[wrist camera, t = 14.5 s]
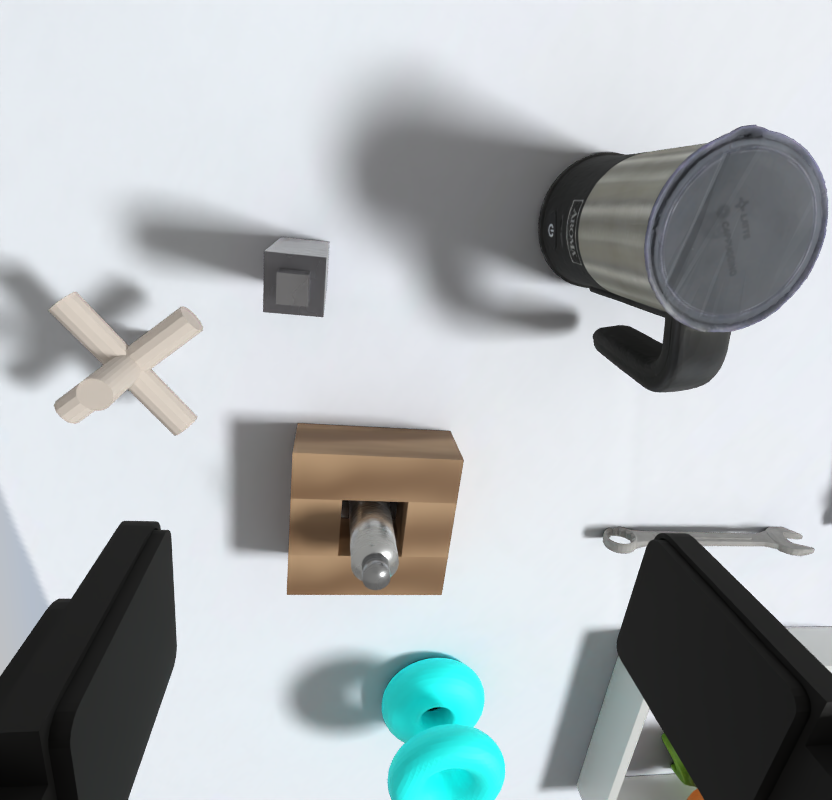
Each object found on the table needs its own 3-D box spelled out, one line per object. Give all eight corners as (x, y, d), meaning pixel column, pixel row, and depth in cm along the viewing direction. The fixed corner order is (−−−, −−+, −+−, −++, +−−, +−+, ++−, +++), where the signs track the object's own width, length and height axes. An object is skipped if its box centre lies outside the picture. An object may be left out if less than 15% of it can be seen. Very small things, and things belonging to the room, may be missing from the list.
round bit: (349, 475, 43) (353, 558, 34) (389, 476, 44) (403, 558, 34) (347, 509, 45) (349, 598, 35) (385, 510, 45) (398, 598, 35)
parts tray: (626, 628, 54) (653, 670, 49) (832, 626, 58) (875, 664, 53) (576, 785, 62) (595, 833, 57) (760, 774, 66) (792, 818, 61)
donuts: (481, 838, 47) (372, 828, 44) (458, 731, 56) (366, 718, 54) (528, 759, 44) (414, 743, 41) (495, 660, 53) (401, 642, 51)
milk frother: (520, 181, 37) (626, 177, 23) (733, 88, 37) (968, 29, 23) (573, 362, 43) (684, 444, 29) (759, 282, 42) (961, 328, 29)
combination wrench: (612, 559, 46) (819, 561, 49) (615, 546, 46) (824, 549, 49) (594, 533, 50) (788, 536, 53) (597, 521, 49) (793, 525, 52)
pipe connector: (152, 435, 40) (96, 509, 31) (43, 329, 36) (-58, 377, 27) (258, 358, 39) (233, 411, 30) (156, 241, 35) (92, 259, 26)
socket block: (297, 423, 41) (292, 452, 37) (450, 431, 43) (463, 460, 39) (292, 553, 45) (286, 594, 41) (431, 555, 47) (441, 594, 43)
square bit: (281, 236, 36) (260, 254, 27) (329, 241, 37) (326, 261, 27) (280, 284, 37) (259, 318, 28) (326, 288, 38) (322, 323, 28)
